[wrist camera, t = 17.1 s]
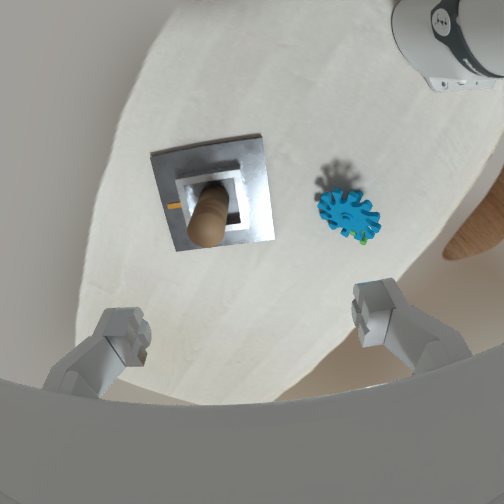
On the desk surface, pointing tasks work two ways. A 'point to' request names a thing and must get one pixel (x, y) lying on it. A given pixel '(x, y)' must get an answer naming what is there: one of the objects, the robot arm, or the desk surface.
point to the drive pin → (209, 217)
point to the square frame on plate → (225, 175)
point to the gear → (350, 215)
